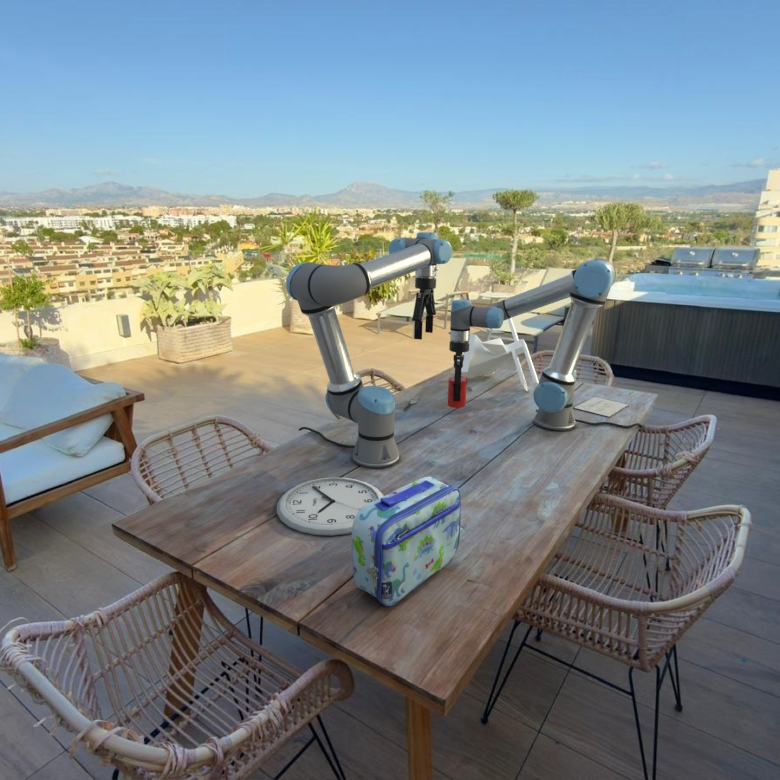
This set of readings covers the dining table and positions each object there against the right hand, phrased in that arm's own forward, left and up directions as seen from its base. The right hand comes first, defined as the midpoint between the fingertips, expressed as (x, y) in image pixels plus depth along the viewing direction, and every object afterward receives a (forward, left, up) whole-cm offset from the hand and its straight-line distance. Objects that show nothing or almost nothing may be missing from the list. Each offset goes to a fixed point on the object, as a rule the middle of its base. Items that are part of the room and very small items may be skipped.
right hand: (456, 397), depth 207 cm
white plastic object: (-18, -50, -9) cm, 54 cm away
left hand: (+14, +8, +26) cm, 30 cm away
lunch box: (+10, +102, -9) cm, 103 cm away
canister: (0, 0, -3) cm, 3 cm away
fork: (+19, -12, -9) cm, 25 cm away
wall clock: (+33, +74, -9) cm, 82 cm away
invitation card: (-63, -25, -9) cm, 68 cm away
